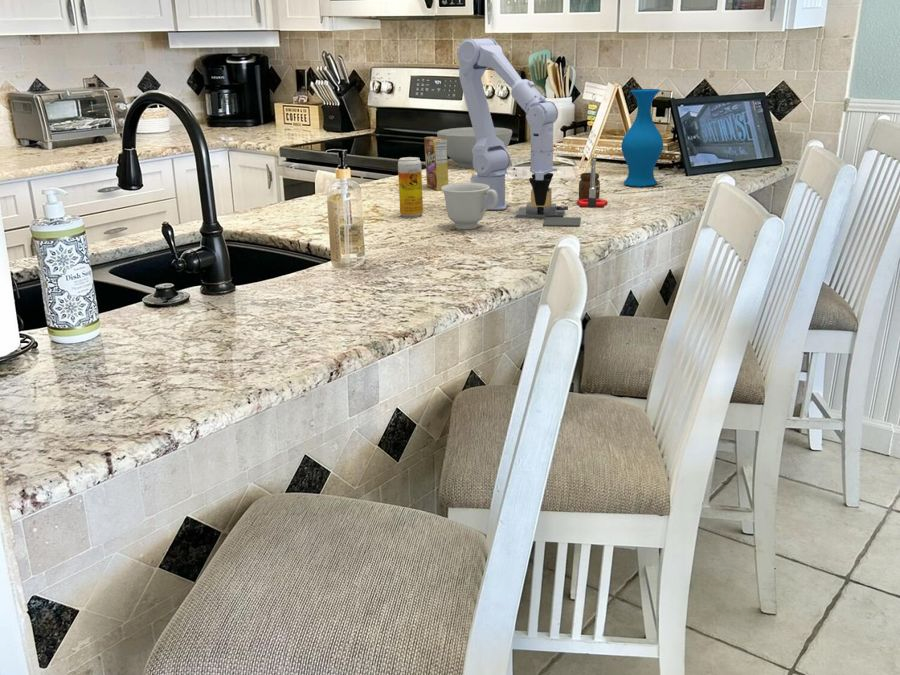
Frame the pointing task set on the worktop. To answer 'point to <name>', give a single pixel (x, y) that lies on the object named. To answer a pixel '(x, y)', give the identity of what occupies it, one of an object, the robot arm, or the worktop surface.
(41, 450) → the worktop surface
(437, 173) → the candy box
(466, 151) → the decorative bowl
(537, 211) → the vise
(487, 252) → the worktop surface
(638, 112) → the vase
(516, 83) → the robot arm
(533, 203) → the tan slotted block
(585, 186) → the utensil holder
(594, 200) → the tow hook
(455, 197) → the teacup
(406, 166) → the beer can
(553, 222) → the mat
